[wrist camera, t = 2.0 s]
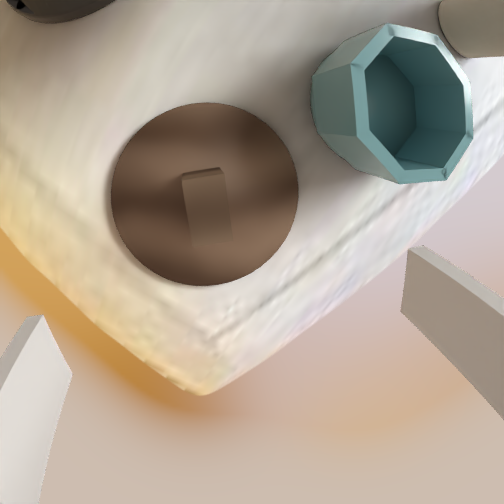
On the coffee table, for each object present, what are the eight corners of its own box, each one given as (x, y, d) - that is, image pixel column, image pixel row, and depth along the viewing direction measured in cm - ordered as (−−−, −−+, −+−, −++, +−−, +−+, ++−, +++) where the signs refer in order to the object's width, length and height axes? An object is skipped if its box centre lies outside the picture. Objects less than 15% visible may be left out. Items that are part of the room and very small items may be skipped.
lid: (100, 123, 23) (80, 123, 18) (286, 95, 25) (306, 89, 20) (137, 292, 29) (129, 322, 25) (299, 263, 31) (317, 288, 27)
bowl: (302, 41, 23) (343, 15, 16) (410, 52, 24) (465, 43, 17) (315, 171, 28) (358, 188, 20) (418, 163, 29) (472, 178, 22)
